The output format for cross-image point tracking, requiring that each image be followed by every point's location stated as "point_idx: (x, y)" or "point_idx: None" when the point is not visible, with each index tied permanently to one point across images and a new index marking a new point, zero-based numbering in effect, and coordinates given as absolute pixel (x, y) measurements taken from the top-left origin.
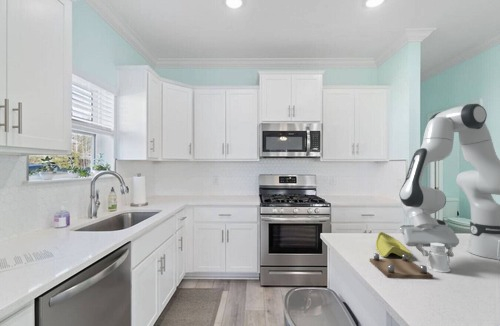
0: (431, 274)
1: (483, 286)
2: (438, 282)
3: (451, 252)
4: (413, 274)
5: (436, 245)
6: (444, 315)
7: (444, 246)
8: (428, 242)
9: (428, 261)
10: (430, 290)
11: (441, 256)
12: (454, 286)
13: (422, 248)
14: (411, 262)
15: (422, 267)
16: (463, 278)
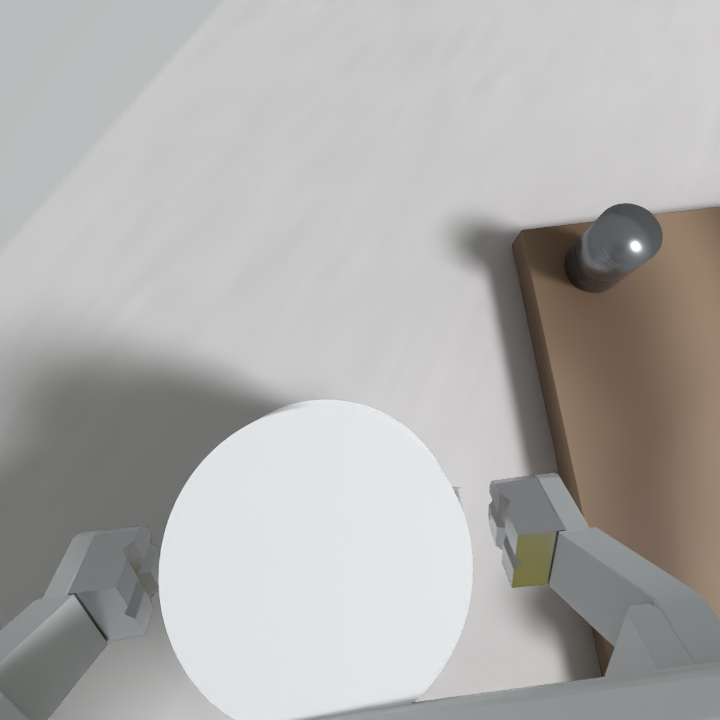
0: (526, 245)
1: (168, 160)
2: (497, 174)
3: (82, 561)
4: (703, 213)
5: (392, 449)
6: None
7: (197, 494)
8: (488, 701)
9: (461, 506)
10: (620, 31)
11: (337, 402)
12: (404, 122)
13: (611, 557)
14: None
15: (645, 211)
16: (225, 296)
